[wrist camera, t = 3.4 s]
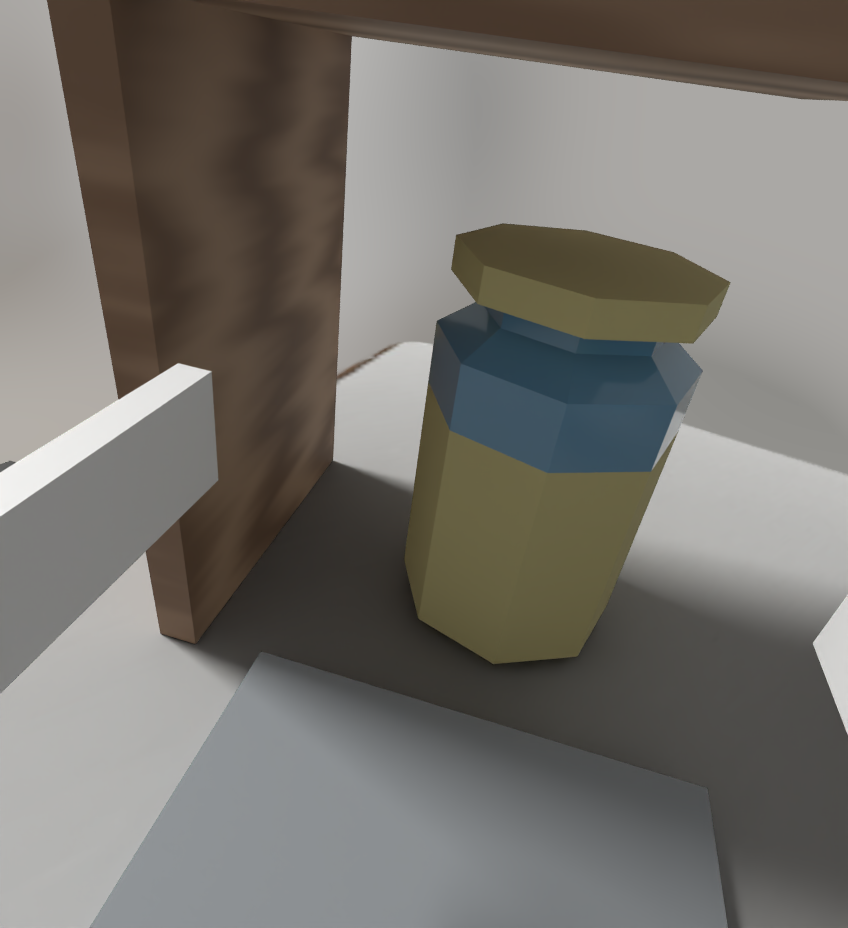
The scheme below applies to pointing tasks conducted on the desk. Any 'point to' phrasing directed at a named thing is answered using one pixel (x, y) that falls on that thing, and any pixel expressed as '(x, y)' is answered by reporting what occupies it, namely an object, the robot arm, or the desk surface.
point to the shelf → (309, 200)
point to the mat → (411, 823)
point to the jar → (547, 431)
